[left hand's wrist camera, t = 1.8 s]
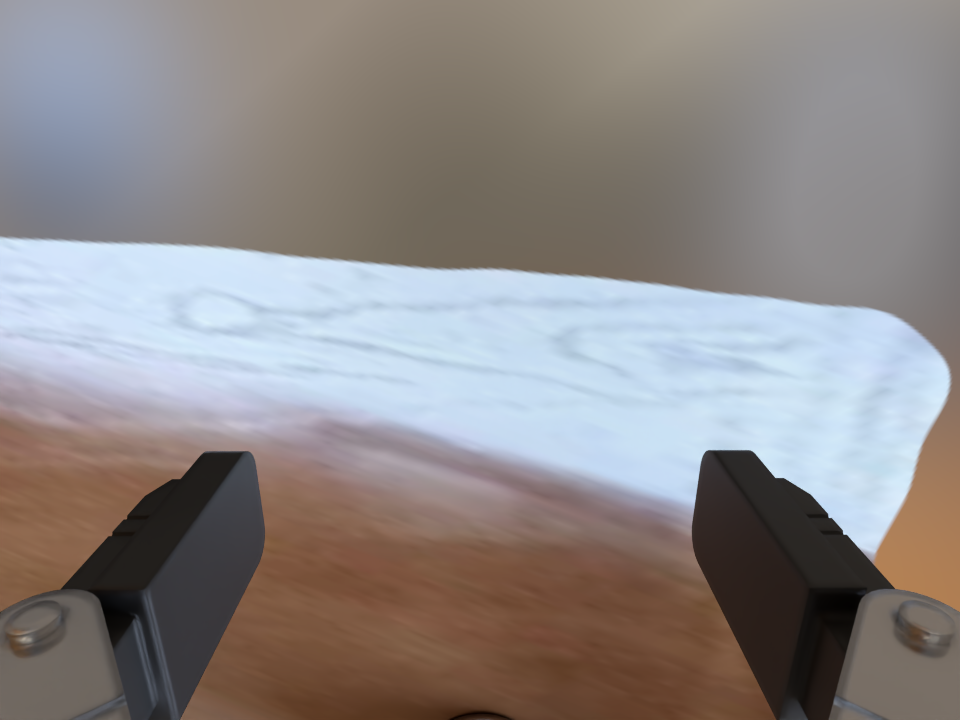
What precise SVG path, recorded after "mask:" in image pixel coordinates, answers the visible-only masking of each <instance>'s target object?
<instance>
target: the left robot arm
mask: <svg viewBox="0 0 960 720" xmlns="http://www.w3.org/2000/svg"><path fill="white" fill-rule="evenodd" d="M112 533H113V534H112V536H108V538H107V539H106V540H105V541H104V542H103V543H102V544H101V545H100V546H99V548H98V549H97V550H96V551H95V552H94V553H93V554H92V555H91V556H90V557H89V559H88V560H87V561H86V562H85V563H84V564H83V565H82V566H81V567H80V568H79V570H78V571H77V572H76V573H75V574H74V575H73V576H72V577H71V578H70V580H69V581H68V582H67V583H66V584H65V585H64V586H63V587H62V588H61V589H60V590H55V591H50V592H46V593H42V594H39V595H35V596H32V597H30V598H27V599H25V600H22V601H20V602H18V603H16V604H14V605H12V606H10V607H8V608H7V609H5V610H3V611H1V612H0V720H180V718H181V716H182V714H183V712H184V711H185V709H186V707H187V705H188V703H189V701H190V699H191V697H192V695H193V693H194V691H195V689H196V687H197V685H198V683H199V681H200V679H201V677H202V675H203V673H204V671H205V669H206V667H207V665H208V663H209V661H210V659H211V657H212V655H213V653H214V651H215V649H216V647H217V645H218V643H219V641H220V639H221V637H222V635H223V633H224V631H225V629H226V627H227V625H228V623H229V622H230V620H231V618H232V616H233V614H234V612H235V610H236V608H237V606H238V604H239V602H240V600H241V598H242V596H243V594H244V592H245V590H246V588H247V586H248V584H249V582H250V580H251V578H252V576H253V574H254V572H255V570H256V568H257V566H258V564H259V562H260V559H261V556H262V553H263V548H264V540H265V526H264V519H263V512H262V505H261V498H260V491H259V484H258V477H257V470H256V464H255V460H254V457H253V455H252V454H251V453H250V452H248V451H207V452H204V453H203V454H202V455H201V456H200V457H199V458H198V459H197V460H196V462H195V463H194V464H193V465H192V466H191V468H190V469H189V470H188V471H187V472H186V473H185V475H184V476H183V477H182V478H181V479H172V480H170V481H169V482H167V483H165V484H164V485H162V486H161V487H159V488H157V489H156V490H154V491H152V492H151V493H149V494H148V495H146V496H145V497H144V498H143V499H142V500H141V501H140V502H139V503H138V504H137V506H136V507H135V508H134V509H133V510H132V511H131V512H130V513H129V514H128V515H127V520H123V521H122V522H121V523H120V524H119V525H118V527H117V528H116V529H115V530H114V531H113V532H112ZM692 541H693V548H694V552H695V556H696V559H697V561H698V564H699V566H700V568H701V570H702V572H703V574H704V576H705V578H706V580H707V582H708V584H709V586H710V588H711V590H712V592H713V594H714V596H715V598H716V600H717V602H718V604H719V606H720V608H721V610H722V612H723V614H724V616H725V618H726V620H727V622H728V624H729V626H730V628H731V630H732V632H733V634H734V636H735V638H736V640H737V642H738V644H739V646H740V648H741V650H742V652H743V654H744V656H745V658H746V660H747V662H748V664H749V666H750V668H751V670H752V672H753V674H754V676H755V678H756V680H757V682H758V684H759V686H760V688H761V690H762V692H763V694H764V696H765V698H766V700H767V702H768V704H769V706H770V708H771V710H772V712H773V714H774V716H775V718H776V720H960V612H959V611H957V610H955V609H953V608H952V607H950V606H948V605H946V604H944V603H942V602H940V601H938V600H935V599H933V598H930V597H928V596H924V595H921V594H918V593H914V592H910V591H905V590H898V589H895V588H894V587H893V586H892V585H891V584H890V583H889V581H888V580H887V579H886V578H885V577H884V576H883V575H882V574H881V573H880V571H879V570H878V569H877V568H876V567H875V566H874V565H873V564H872V562H871V561H870V560H869V559H868V558H867V557H866V556H865V555H864V554H863V552H862V551H861V550H860V549H859V548H858V547H857V546H856V545H855V544H854V542H853V541H852V540H851V539H850V538H849V537H848V536H847V535H843V530H842V529H841V528H840V527H839V526H838V525H837V523H836V522H835V521H834V520H833V519H832V518H829V517H828V513H827V512H826V511H825V510H824V509H823V508H822V507H821V506H820V505H819V503H818V502H817V501H816V500H815V499H814V498H813V497H812V496H811V495H810V494H809V493H807V492H805V491H804V490H802V489H801V488H799V487H797V486H796V485H794V484H792V483H791V482H789V481H788V480H786V479H784V478H775V477H774V476H773V475H772V473H771V472H770V471H769V470H768V469H767V468H766V466H765V465H764V464H763V463H762V462H761V460H760V459H759V458H758V457H757V456H756V454H755V453H754V452H752V451H749V450H708V451H706V452H705V453H704V455H703V457H702V461H701V466H700V473H699V480H698V487H697V494H696V501H695V509H694V516H693V523H692ZM454 720H509V719H507V718H504V717H501V716H497V715H490V714H473V715H467V716H462V717H459V718H456V719H454Z"/></svg>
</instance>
